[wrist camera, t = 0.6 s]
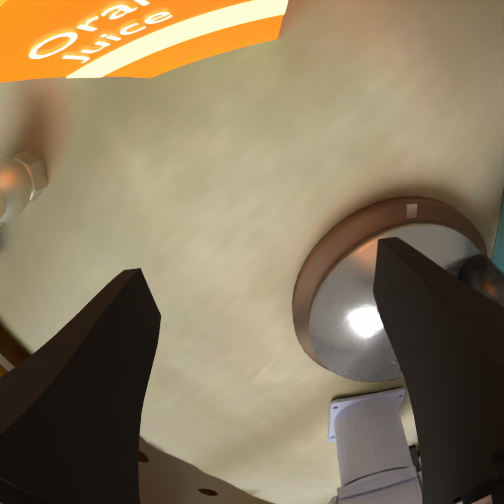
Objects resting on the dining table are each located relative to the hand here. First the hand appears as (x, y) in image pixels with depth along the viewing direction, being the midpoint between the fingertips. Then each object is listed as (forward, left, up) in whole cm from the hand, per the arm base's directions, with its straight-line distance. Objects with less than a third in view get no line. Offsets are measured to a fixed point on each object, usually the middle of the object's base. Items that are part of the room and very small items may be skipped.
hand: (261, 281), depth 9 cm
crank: (-10, -9, -9) cm, 16 cm away
